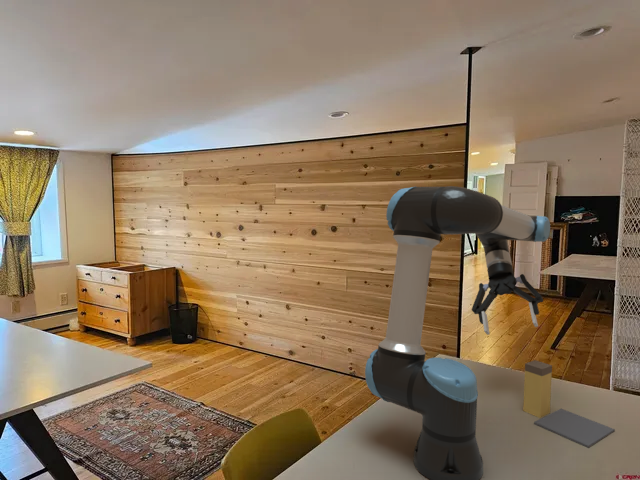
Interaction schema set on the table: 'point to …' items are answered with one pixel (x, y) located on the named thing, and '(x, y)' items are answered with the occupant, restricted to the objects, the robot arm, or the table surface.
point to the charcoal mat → (574, 427)
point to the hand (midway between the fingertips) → (510, 329)
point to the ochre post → (537, 388)
